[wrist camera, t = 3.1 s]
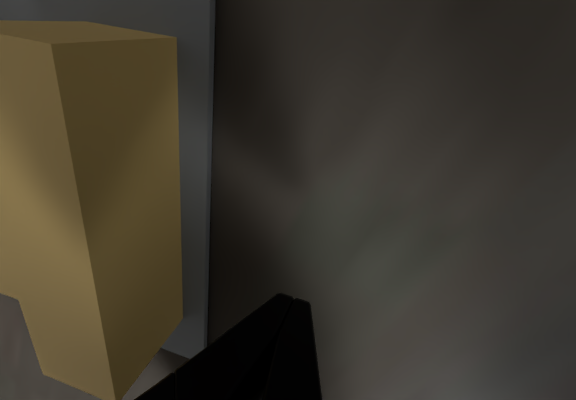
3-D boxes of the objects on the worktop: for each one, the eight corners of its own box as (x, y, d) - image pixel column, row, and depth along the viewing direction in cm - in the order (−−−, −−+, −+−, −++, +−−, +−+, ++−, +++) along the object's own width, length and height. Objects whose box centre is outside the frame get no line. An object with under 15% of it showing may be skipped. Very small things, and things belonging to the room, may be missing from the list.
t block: (176, 37, 10) (50, 43, 6) (183, 318, 15) (116, 405, 12) (-67, -6, 11) (-268, -19, 8) (15, 258, 17) (-85, 319, 13)
